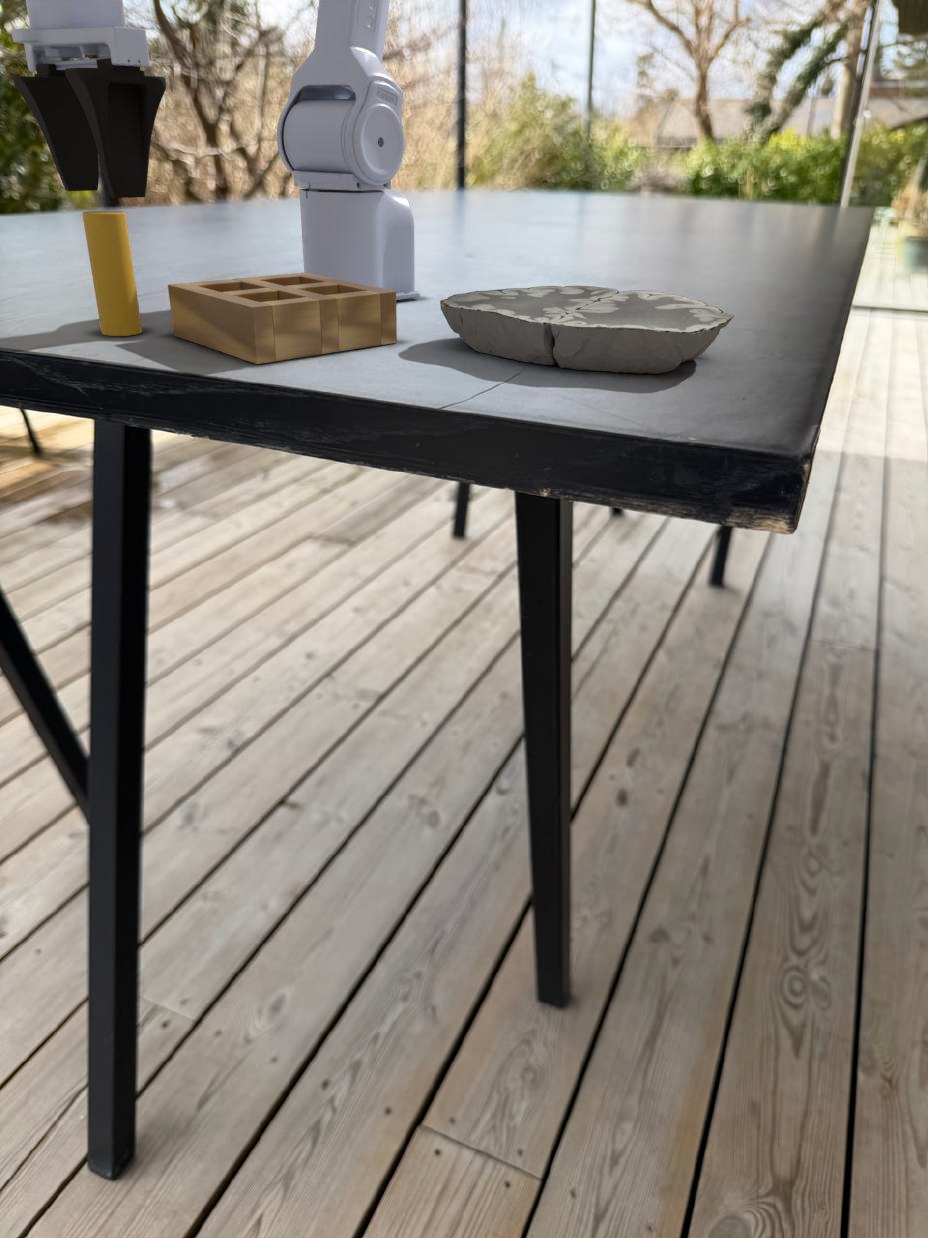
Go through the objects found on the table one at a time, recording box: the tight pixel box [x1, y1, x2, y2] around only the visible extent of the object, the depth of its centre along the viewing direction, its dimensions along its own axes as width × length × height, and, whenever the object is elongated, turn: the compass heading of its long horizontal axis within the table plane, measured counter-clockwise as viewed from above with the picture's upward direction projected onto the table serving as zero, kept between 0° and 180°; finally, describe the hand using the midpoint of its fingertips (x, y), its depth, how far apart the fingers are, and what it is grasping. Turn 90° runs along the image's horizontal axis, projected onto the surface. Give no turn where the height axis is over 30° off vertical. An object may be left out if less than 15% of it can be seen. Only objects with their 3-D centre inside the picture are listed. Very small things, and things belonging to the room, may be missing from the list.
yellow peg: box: [81, 210, 143, 337], centre depth 64 cm, size 3×3×8 cm
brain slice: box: [439, 285, 735, 375], centre depth 64 cm, size 20×17×3 cm
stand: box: [167, 272, 398, 365], centre depth 64 cm, size 11×11×4 cm
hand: (104, 193), depth 62 cm, fingers open, 7 cm apart
